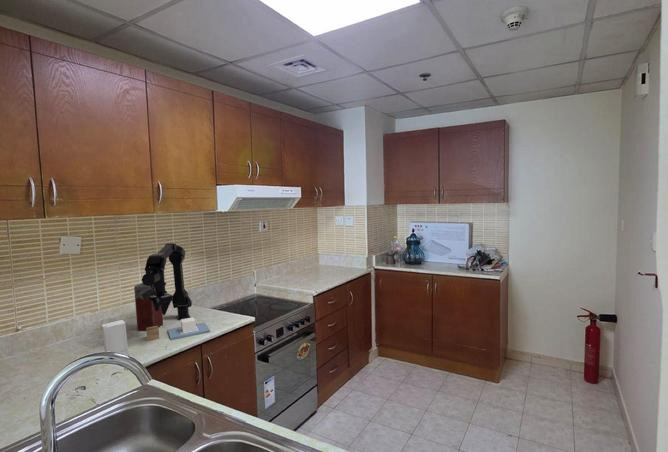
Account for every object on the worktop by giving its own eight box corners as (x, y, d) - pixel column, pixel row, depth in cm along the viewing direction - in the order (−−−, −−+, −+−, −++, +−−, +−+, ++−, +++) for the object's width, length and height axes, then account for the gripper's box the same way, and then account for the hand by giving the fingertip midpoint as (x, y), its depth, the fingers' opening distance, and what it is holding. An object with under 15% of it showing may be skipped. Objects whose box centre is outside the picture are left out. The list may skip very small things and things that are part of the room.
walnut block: (147, 337, 179) (146, 327, 179) (158, 335, 182) (157, 325, 181) (147, 341, 175) (146, 330, 174) (159, 338, 177) (158, 328, 177)
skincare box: (126, 352, 163) (123, 318, 162) (129, 356, 158) (126, 322, 157) (104, 357, 157) (101, 323, 156) (106, 362, 153) (103, 327, 152)
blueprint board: (167, 331, 187) (167, 329, 187) (204, 324, 196) (204, 321, 196) (170, 340, 175) (170, 337, 175) (210, 332, 183) (210, 329, 183)
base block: (181, 329, 186) (180, 319, 186) (193, 326, 189) (193, 317, 189) (183, 332, 181) (182, 322, 181) (196, 330, 184) (195, 320, 184)
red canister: (143, 324, 198) (139, 273, 196) (163, 324, 197) (159, 272, 195) (133, 330, 189) (128, 276, 187) (154, 330, 188) (150, 276, 186)
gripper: (133, 281, 178) (136, 313, 179) (146, 287, 165) (149, 321, 166) (157, 277, 186) (160, 307, 187) (172, 282, 173) (174, 315, 174)
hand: (160, 313), depth 178 cm, fingers open, 9 cm apart
